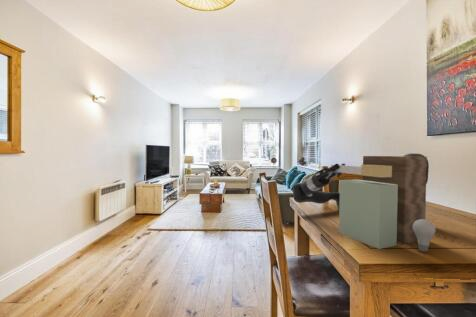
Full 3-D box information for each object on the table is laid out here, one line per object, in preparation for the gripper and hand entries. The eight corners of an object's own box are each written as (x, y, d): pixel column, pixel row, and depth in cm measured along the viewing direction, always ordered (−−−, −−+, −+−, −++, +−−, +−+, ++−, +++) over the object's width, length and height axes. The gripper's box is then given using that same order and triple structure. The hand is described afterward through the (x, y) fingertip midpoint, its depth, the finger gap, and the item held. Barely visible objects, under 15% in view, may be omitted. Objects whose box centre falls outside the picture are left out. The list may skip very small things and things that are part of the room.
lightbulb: (439, 256, 76) (440, 222, 76) (417, 254, 78) (418, 221, 77) (428, 249, 82) (428, 217, 82) (408, 247, 84) (409, 216, 83)
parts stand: (381, 226, 108) (382, 156, 107) (424, 239, 91) (426, 156, 91) (361, 229, 103) (362, 156, 103) (403, 244, 87) (405, 156, 86)
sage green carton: (355, 230, 102) (355, 179, 102) (396, 245, 85) (397, 184, 85) (338, 232, 99) (339, 180, 98) (378, 249, 82) (380, 185, 82)
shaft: (338, 171, 108) (338, 162, 108) (391, 177, 85) (392, 165, 85) (328, 171, 106) (328, 162, 106) (380, 177, 83) (381, 166, 83)
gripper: (331, 187, 118) (357, 172, 104) (308, 189, 113) (331, 173, 99) (326, 173, 121) (350, 157, 107) (303, 174, 116) (325, 157, 102)
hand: (341, 165), depth 103 cm, fingers closed on shaft, 3 cm apart
